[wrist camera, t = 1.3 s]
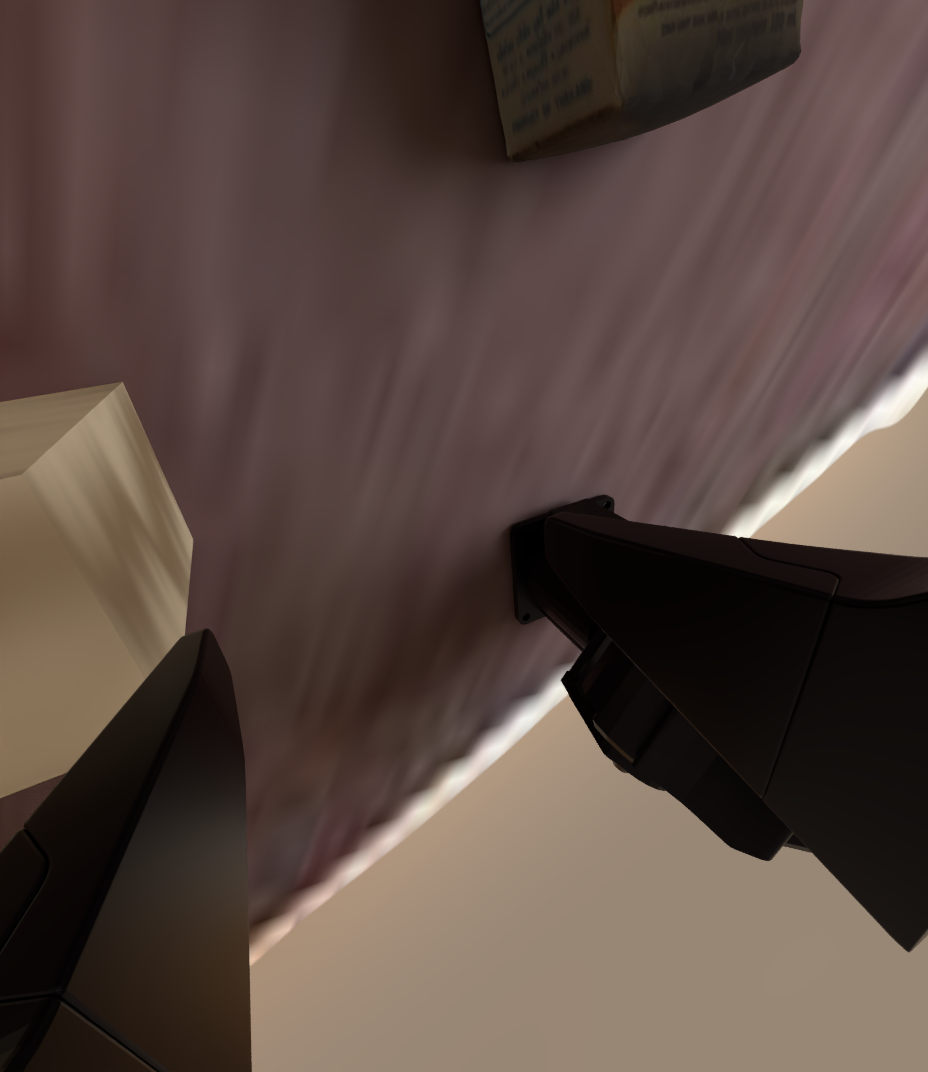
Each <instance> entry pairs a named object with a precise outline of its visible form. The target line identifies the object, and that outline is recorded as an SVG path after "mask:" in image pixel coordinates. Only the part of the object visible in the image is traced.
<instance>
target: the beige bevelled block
mask: <svg viewBox="0 0 928 1072" xmlns="http://www.w3.org/2000/svg"><path fill="white" fill-rule="evenodd" d="M192 548H193V538H192V536H191V534H190V532H189V529H188V527H187V525H186V523H185V521H184V518H183V516H182V514H181V512H180V509H179V507H178V505H177V503H176V500H175V498H174V496H173V494H172V491H171V489H170V487H169V485H168V483H167V480H166V478H165V476H164V474H163V471H162V469H161V467H160V465H159V462H158V460H157V458H156V456H155V454H154V451H153V449H152V447H151V445H150V442H149V440H148V438H147V436H146V433H145V431H144V429H143V427H142V425H141V422H140V420H139V418H138V416H137V413H136V411H135V409H134V407H133V404H132V402H131V400H130V398H129V396H128V393H127V391H126V389H125V387H124V384H123V382H119V383H113V384H107V385H101V386H95V387H89V388H83V389H77V390H71V391H65V392H59V393H53V394H47V395H41V396H35V397H29V398H23V399H17V400H11V401H5V402H0V798H2V797H5V796H7V795H10V794H12V793H15V792H18V791H20V790H23V789H25V788H28V787H30V786H33V785H36V784H38V783H41V782H43V781H46V780H49V779H51V778H54V777H56V776H59V775H61V774H64V773H67V772H68V771H69V770H70V768H71V767H72V766H73V765H74V764H75V762H76V761H77V760H78V759H79V758H80V756H81V755H82V754H83V753H84V752H85V751H86V749H87V748H88V747H89V746H90V745H91V743H92V742H93V741H94V740H95V739H96V737H97V736H98V735H99V734H100V733H101V731H102V730H103V729H104V728H105V727H106V726H107V724H108V723H109V722H110V721H111V720H112V718H113V717H114V716H115V715H116V714H117V712H118V711H119V710H120V709H121V708H122V706H123V705H124V704H125V703H126V702H127V701H128V699H129V698H130V697H131V696H132V695H133V693H134V692H135V691H136V690H137V689H138V687H139V686H140V685H141V684H142V683H143V681H144V680H145V679H146V678H147V677H148V676H149V674H150V673H151V672H152V671H153V670H154V668H155V667H156V666H157V665H158V664H159V662H160V661H161V660H162V659H163V658H164V657H165V655H166V654H167V653H168V652H169V651H170V649H171V648H172V647H173V646H174V645H175V643H176V642H177V641H178V640H179V639H180V638H181V637H182V636H184V635H185V626H186V615H187V604H188V593H189V582H190V570H191V559H192Z"/></svg>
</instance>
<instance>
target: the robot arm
mask: <svg viewBox="0 0 928 1072" xmlns="http://www.w3.org/2000/svg"><path fill="white" fill-rule="evenodd" d="M605 503H606V504H605ZM604 504H605V506H604ZM521 530H522V533H521V534H520V535H519V536H518V533H519V532H520V531H521ZM510 542H511V557H512V572H513V587H514V602H515V617H516V619H517V620H518V621H519V622H520V623H521V624H528V623H530V622H533V621H535V620H537V619H540V618H542V617H545V616H546V617H547V618H548V619H549V620H550V621H551V622H552V623H553V624H554V625H555V626H556V627H557V628H558V629H559V630H560V631H561V632H562V633H563V634H564V635H565V636H566V637H567V638H568V639H569V640H570V641H571V642H572V643H573V644H574V645H575V646H577V647H578V648H579V649H580V650H581V651H582V653H581V654H580V656H579V657H578V659H577V660H576V662H575V663H574V665H573V666H572V668H571V669H570V671H567V672H566V673H565V675H564V676H563V678H562V679H561V682H562V683H563V685H564V687H565V689H566V690H567V692H568V694H569V696H570V698H571V700H572V701H573V703H574V705H575V706H576V708H577V710H578V711H579V713H580V715H581V716H582V718H583V719H584V721H585V723H586V725H587V726H588V728H589V730H590V731H591V733H592V735H593V737H594V738H595V740H596V742H597V743H598V745H599V747H600V748H601V750H602V752H603V753H604V754H605V755H606V756H607V757H608V758H609V759H611V760H612V761H613V764H614V765H615V767H616V768H618V769H619V770H620V771H622V772H624V773H629V774H631V775H632V776H634V777H635V778H637V779H638V780H640V781H641V782H643V783H645V784H646V785H648V786H651V787H653V788H655V789H658V790H662V791H667V792H668V793H670V794H671V795H672V796H674V797H675V798H676V799H677V800H679V801H680V802H681V803H682V804H683V805H684V806H686V807H687V808H688V809H689V810H690V811H691V812H693V813H694V814H695V815H696V816H697V817H698V818H699V819H700V820H701V821H702V822H703V823H704V824H706V825H707V826H708V827H709V828H710V829H711V830H712V831H713V832H714V833H715V834H716V835H717V836H718V837H720V838H721V839H722V840H723V841H724V842H725V843H726V844H727V845H729V846H730V847H731V848H734V849H735V850H738V851H741V852H743V853H746V854H748V855H751V856H753V857H756V858H759V859H761V860H765V861H770V860H772V859H773V857H774V856H775V855H776V854H777V853H778V851H779V850H780V849H781V847H783V846H785V847H789V848H794V849H798V850H802V851H806V852H811V853H813V854H814V855H815V856H816V857H817V858H818V859H819V861H820V862H821V863H822V864H823V865H824V866H825V867H826V868H827V869H828V870H829V871H830V872H831V873H832V874H833V875H834V876H835V878H836V879H838V881H839V882H840V883H841V884H842V885H843V886H844V887H845V888H846V889H847V890H848V891H849V892H850V894H852V896H853V897H854V898H855V899H856V900H857V901H858V902H859V903H860V904H861V905H862V906H863V907H864V908H865V909H866V911H867V912H868V913H869V914H870V915H871V916H872V917H873V918H874V919H875V920H876V921H877V922H878V923H879V924H880V925H881V926H882V928H883V929H884V930H885V931H886V932H887V933H888V934H889V935H890V936H891V937H892V938H893V939H894V940H895V941H896V942H897V943H898V944H899V945H901V946H902V947H903V948H904V949H905V950H906V951H907V952H911V951H912V950H913V949H914V948H915V947H916V946H917V945H918V944H919V943H920V942H921V941H922V940H923V939H924V938H925V937H926V936H927V935H928V557H913V556H903V555H893V554H883V553H872V552H862V551H853V550H842V549H833V548H823V547H814V546H805V545H796V544H788V543H781V542H773V541H765V540H758V539H751V538H744V537H740V538H737V537H736V536H730V535H723V534H716V533H709V532H702V531H695V530H688V529H681V528H674V527H667V526H660V525H653V524H646V523H639V522H632V521H628V520H626V519H624V518H622V517H620V516H619V515H617V514H615V513H614V499H613V498H612V497H610V496H608V495H601V496H598V497H595V498H592V499H584V500H581V501H578V502H575V503H572V504H569V505H566V506H563V507H560V508H556V509H553V510H551V511H549V512H548V513H546V514H543V515H540V516H537V517H534V518H531V519H528V520H525V521H522V522H519V523H517V524H515V525H514V526H513V527H512V528H511V530H510ZM525 614H526V615H525ZM524 615H525V616H524ZM523 616H524V617H523ZM24 828H25V829H20V830H18V831H17V832H16V833H15V835H14V836H13V837H12V838H11V839H10V841H9V842H8V843H7V844H6V845H5V847H4V848H3V849H2V850H1V851H0V1072H252V1062H251V1018H250V1017H251V1015H250V968H249V921H248V875H247V828H246V781H245V758H244V751H243V743H242V737H241V731H240V724H239V718H238V712H237V706H236V700H235V694H234V688H233V682H232V676H231V672H230V669H229V666H228V664H227V662H226V660H225V658H224V655H223V653H222V651H221V649H220V647H219V645H218V643H217V641H216V638H215V636H214V634H213V633H212V631H210V630H209V629H202V630H199V631H196V632H193V633H190V634H187V635H184V636H182V637H181V638H180V639H179V640H178V641H177V642H176V643H175V645H174V646H173V647H172V648H171V649H170V651H169V652H168V653H167V654H166V655H165V657H164V658H163V659H162V660H161V661H160V662H159V664H158V665H157V666H156V667H155V668H154V670H153V671H152V672H151V673H150V674H149V676H148V677H147V678H146V679H145V680H144V681H143V683H142V684H141V685H140V686H139V687H138V689H137V690H136V691H135V692H134V693H133V695H132V696H131V697H130V698H129V699H128V701H127V702H126V703H125V704H124V705H123V706H122V708H121V709H120V710H119V711H118V712H117V714H116V715H115V716H114V717H113V718H112V720H111V721H110V722H109V723H108V724H107V726H106V727H105V728H104V729H103V730H102V731H101V733H100V734H99V735H98V736H97V737H96V739H95V740H94V741H93V742H92V743H91V745H90V746H89V747H88V748H87V749H86V751H85V752H84V753H83V754H82V755H81V756H80V758H79V759H78V760H77V761H76V762H75V764H74V765H73V766H72V767H71V768H70V770H69V771H68V772H67V773H66V774H65V775H64V777H63V778H62V779H61V780H60V781H59V783H58V784H57V785H56V786H55V787H54V789H53V790H52V791H51V792H50V793H49V795H48V796H47V797H46V798H45V799H44V800H43V802H42V803H41V804H40V805H39V806H38V808H37V809H36V810H35V811H34V812H33V814H32V815H31V816H30V817H29V818H28V819H27V821H26V822H25V823H24Z"/></svg>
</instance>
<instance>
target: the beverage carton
mask: <svg viewBox="0 0 928 1072" xmlns="http://www.w3.org/2000/svg"><path fill="white" fill-rule="evenodd" d="M479 1H480V7H481V12H482V18H483V23H484V28H485V34H486V39H487V44H488V49H489V55H490V61H491V66H492V71H493V76H494V81H495V87H496V93H497V99H498V105H499V111H500V117H501V121H502V125H503V130H504V135H505V140H506V149H507V157H508V160H509V161H511V162H520V161H526V160H533V159H539V158H545V157H550V156H555V155H560V154H565V153H569V152H574V151H578V150H583V149H587V148H591V147H595V146H599V145H603V144H607V143H611V142H616V141H620V140H624V139H627V138H630V137H633V136H636V135H639V134H643V133H646V132H649V131H652V130H655V129H657V128H660V127H662V126H665V125H668V124H670V123H673V122H675V121H678V120H681V119H683V118H685V117H688V116H690V115H692V114H694V113H696V112H699V111H701V110H703V109H705V108H707V107H710V106H712V105H714V104H716V103H718V102H720V101H722V100H724V99H726V98H728V97H730V96H732V95H734V94H736V93H738V92H740V91H742V90H744V89H746V88H748V87H750V86H752V85H754V84H756V83H758V82H760V81H762V80H764V79H766V78H767V77H769V76H771V75H773V74H775V73H777V72H779V71H781V70H783V69H785V68H786V67H788V66H790V65H791V64H793V63H794V62H795V61H796V60H797V59H798V57H799V55H800V53H801V46H800V24H801V15H802V7H803V0H479Z"/></svg>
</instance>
